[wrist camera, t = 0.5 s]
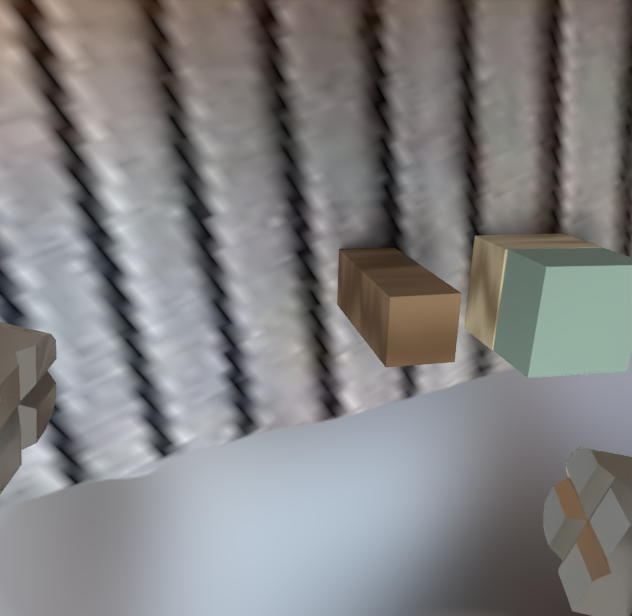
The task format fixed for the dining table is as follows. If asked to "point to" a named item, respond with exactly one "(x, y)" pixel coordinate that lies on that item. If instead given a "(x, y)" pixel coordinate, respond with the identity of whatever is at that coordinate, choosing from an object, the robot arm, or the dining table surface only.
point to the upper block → (565, 311)
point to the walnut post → (398, 306)
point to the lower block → (500, 275)
